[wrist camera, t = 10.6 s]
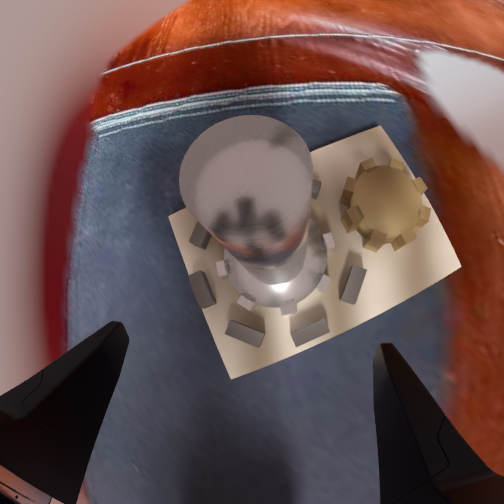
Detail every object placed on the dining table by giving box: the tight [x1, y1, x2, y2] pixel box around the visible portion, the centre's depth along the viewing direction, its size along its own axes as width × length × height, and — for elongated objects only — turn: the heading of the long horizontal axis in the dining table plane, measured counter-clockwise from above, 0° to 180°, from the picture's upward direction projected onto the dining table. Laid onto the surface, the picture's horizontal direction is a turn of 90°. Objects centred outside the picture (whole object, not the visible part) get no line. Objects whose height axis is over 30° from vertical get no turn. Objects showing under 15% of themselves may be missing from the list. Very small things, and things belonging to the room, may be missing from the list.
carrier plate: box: [168, 126, 461, 379], centre depth 21 cm, size 19×13×4 cm
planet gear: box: [179, 115, 335, 316], centre depth 16 cm, size 8×8×14 cm
